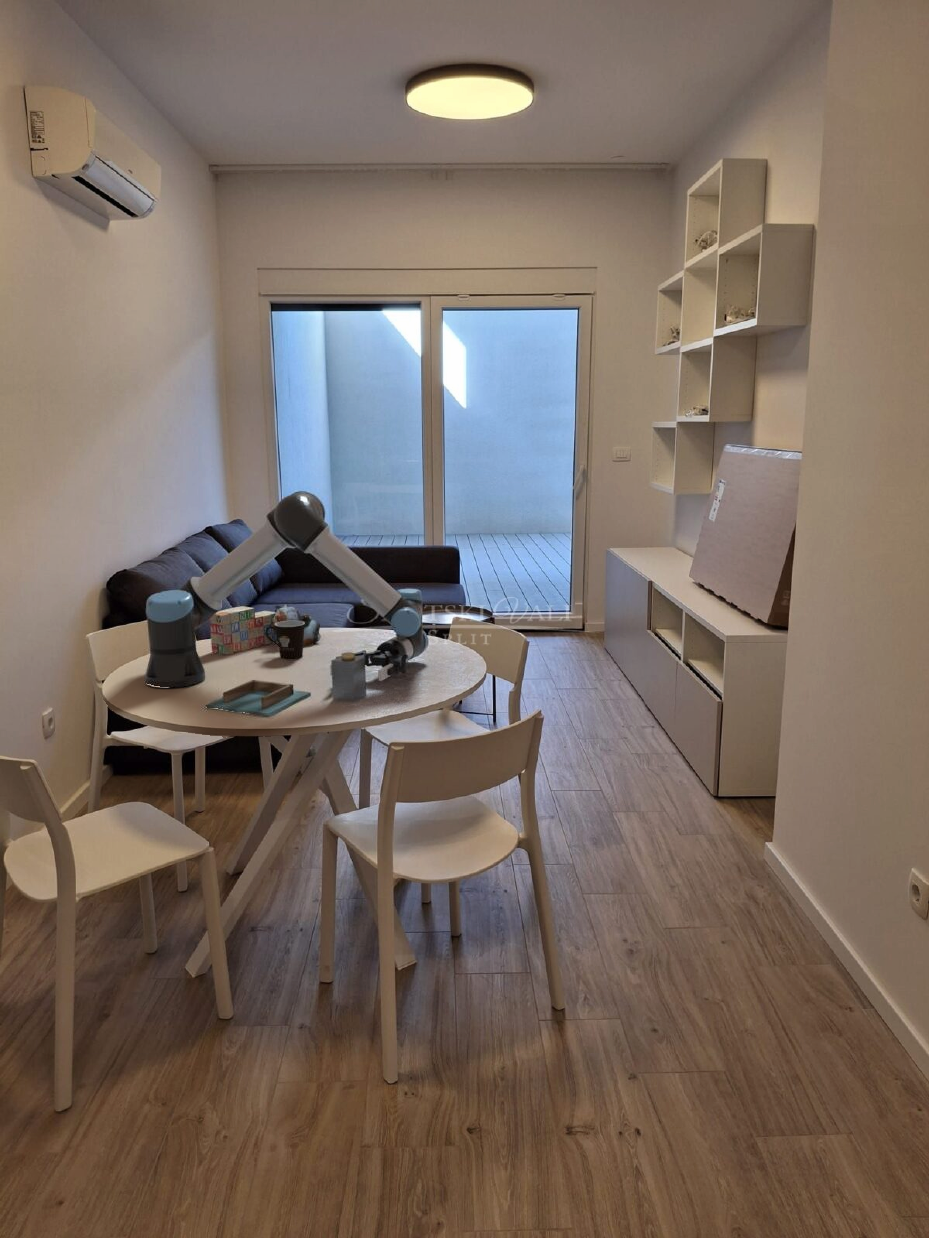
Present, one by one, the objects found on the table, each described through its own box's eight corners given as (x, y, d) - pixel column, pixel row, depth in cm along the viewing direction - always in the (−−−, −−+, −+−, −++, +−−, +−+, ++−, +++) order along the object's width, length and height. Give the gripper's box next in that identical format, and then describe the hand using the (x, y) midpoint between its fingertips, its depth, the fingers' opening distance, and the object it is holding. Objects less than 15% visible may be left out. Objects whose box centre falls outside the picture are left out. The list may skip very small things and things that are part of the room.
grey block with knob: (333, 699, 215) (331, 655, 213) (345, 692, 221) (343, 650, 218) (354, 702, 213) (352, 658, 211) (366, 695, 218) (364, 652, 216)
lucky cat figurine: (320, 646, 268) (297, 610, 262) (285, 660, 270) (262, 624, 264) (324, 622, 281) (303, 587, 275) (291, 636, 283) (269, 601, 277)
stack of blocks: (267, 638, 279) (264, 601, 276) (280, 641, 275) (278, 603, 272) (211, 652, 262) (208, 612, 260) (224, 655, 258) (221, 614, 256)
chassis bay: (205, 708, 210) (204, 694, 209) (251, 687, 226) (250, 675, 225) (268, 716, 203) (267, 703, 202) (310, 695, 219) (310, 682, 218)
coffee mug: (312, 656, 257) (310, 623, 254) (288, 662, 250) (286, 628, 248) (288, 650, 264) (286, 617, 262) (264, 655, 258) (262, 622, 256)
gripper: (436, 670, 233) (400, 692, 214) (354, 662, 242) (313, 682, 223) (435, 643, 231) (400, 662, 212) (353, 635, 240) (311, 653, 221)
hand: (355, 672), depth 217 cm, fingers open, 13 cm apart
